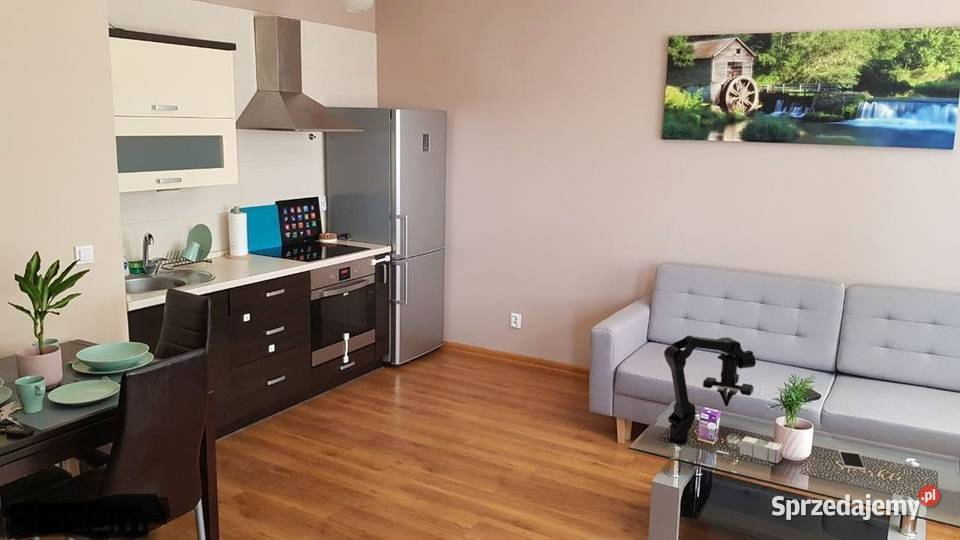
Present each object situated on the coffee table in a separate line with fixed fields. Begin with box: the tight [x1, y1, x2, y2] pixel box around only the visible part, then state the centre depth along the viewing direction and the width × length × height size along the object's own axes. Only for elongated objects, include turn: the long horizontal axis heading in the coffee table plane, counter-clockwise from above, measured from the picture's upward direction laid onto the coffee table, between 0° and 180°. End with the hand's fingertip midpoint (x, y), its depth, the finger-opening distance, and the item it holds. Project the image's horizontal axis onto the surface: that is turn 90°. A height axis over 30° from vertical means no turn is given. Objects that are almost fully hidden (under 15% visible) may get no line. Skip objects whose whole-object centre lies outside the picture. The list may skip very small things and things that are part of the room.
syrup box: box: [739, 435, 784, 464], centre depth 289 cm, size 6×6×14 cm
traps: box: [721, 453, 736, 462], centre depth 294 cm, size 6×23×1 cm, turn 124°
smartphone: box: [838, 449, 866, 471], centre depth 287 cm, size 7×15×1 cm, turn 163°
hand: (726, 406), depth 308 cm, fingers closed
